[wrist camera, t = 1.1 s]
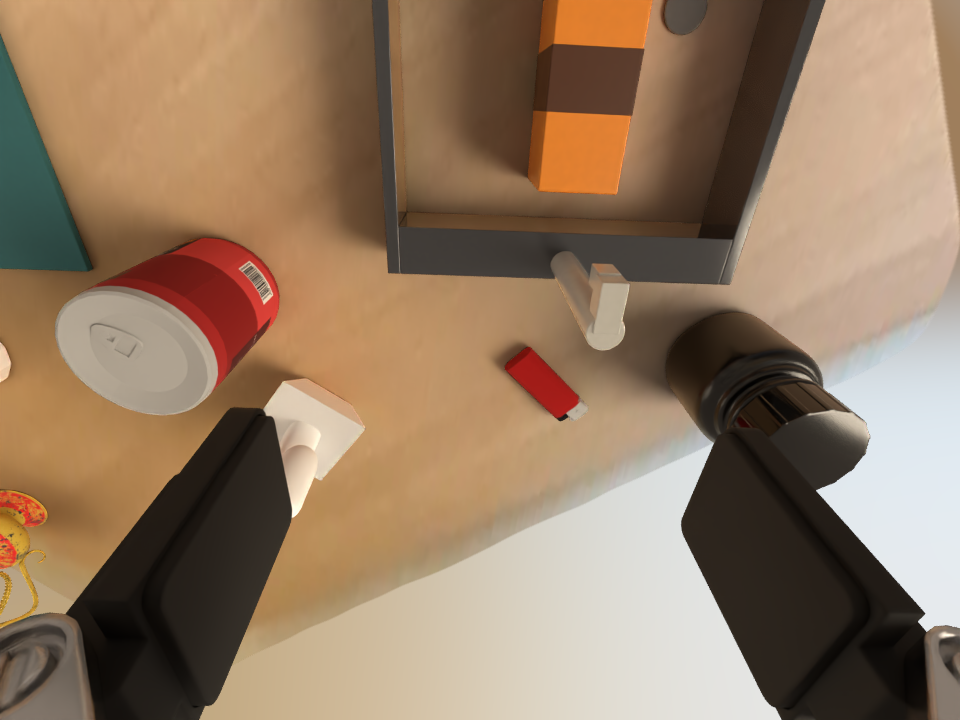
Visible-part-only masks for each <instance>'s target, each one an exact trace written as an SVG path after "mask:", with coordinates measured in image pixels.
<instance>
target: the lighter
mask: <svg viewBox="0 0 960 720" xmlns="http://www.w3.org/2000/svg"><path fill="white" fill-rule="evenodd" d="M505 370H506V371H507V372H508V373H509V374H510V375H511V376H512V377H513V378H514V379H515V380H516V381H518V382H519V383H520V384H521V385H522V386H523V387H524V388H525V389H526V390H527V391H528V392H529V393H530V394H531V395H532V396H533V397H534V398H535V399H536V400H537V401H538V402H539V403H541V404H542V405H543V406H544V407H545V408H546V409H547V410H548V411H549V412H550V413H551V414H552V415H553V416H554V417H555V418H557V419H558V420H559V421H563V420H565V419H566V418H568V416H569V419H570V420H571V421H576V420H577V419H579V418H580V417H582V416H583V415H584V414H585V413H586V412H587V411H588V405H587V404H586V403H585V402H584V401H583V400H582V399H581V398H580V397H579V396H578V395H577V394H576V393H575V392H574V391H573V390H572V389H571V388H570V387H569V386H568V385H567V384H566V383H565V382H564V381H563V380H562V379H561V378H560V377H559V376H558V375H557V374H556V373H555V372H554V371H553V370H552V369H551V368H550V367H549V366H548V365H547V364H546V363H545V362H544V361H543V360H542V359H541V358H540V357H539V356H538V355H537V354H536V353H535V352H534V351H533V350H532V348H531V347H527V348H525V349H524V350H523V351H521V352H520V353H519V354H518V355H516V356H515V357H514V358H512V359H511V360H510V361H509V362H508V363H507V364H506V366H505Z"/></svg>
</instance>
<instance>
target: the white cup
mask: <svg viewBox="0 0 960 720" xmlns="http://www.w3.org/2000/svg"><path fill="white" fill-rule="evenodd" d="M10 367H11V361H10V358H9V356H8V353H7V351H6V348H5V347H4V346H3V344H2V343H1V342H0V382H1V381H3V380H4V379H6V378H7V377H8V376H9V371H10Z"/></svg>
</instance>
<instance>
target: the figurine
mask: <svg viewBox="0 0 960 720" xmlns="http://www.w3.org/2000/svg"><path fill="white" fill-rule="evenodd" d="M263 410H264V411H265V413H266V416H272V417H273V418H274V421H275V425H276V430H277V435H278V440H279V445H280V450H281V455H282V460H283V465H284V470H285V475H286V480H287V485H288V490H289V495H290V500H291V505H292V518H293V517H294V516H296V515H297V514H298V512H299V511H300V509H301V507H302V505H303V502H304V500H305V497H306V495H307V493H308V490H309V488H310V486H311V483H312V481H313V478H314V477H315V478H317V479H319V480H320V481H321V480H322V479H323V478H324V477H325V475H326V474H327V473H328V472H329V471H330V470H331V468H332V467H333V466H334V465H335V464H336V463H337V461H338V460H339V459H340V458H341V457H342V456H343V455H344V453H345V452H346V451H347V450H348V449H349V448H350V446H351V445H352V444H353V443H354V442H355V441H356V439H357V438H358V437H359V436H360V435H361V434H362V432H363V431H364V430H365V429H366V428H365V426H364V424H363V423H362V421H361V420H360V418H359V416H358V415H357V413H356V411H355V410H354V408H353V407H352V405H351V404H350V403H348V402H346V401H345V400H343V399H341V398H339V397H338V396H336V395H334V394H333V393H331V392H329V391H327V390H326V389H324V388H322V387H321V386H319V385H317V384H315V383H314V382H312V381H310V380H309V379H307V378H305V379H296V380H288V381H283V382H282V384H281V385H280V386H279V388H278V389H277V391H276V392H275V393H274V395H273V396H272V398H271V399H270V401H269V402H268V403H267V405H266V406H265V408H264V409H263Z"/></svg>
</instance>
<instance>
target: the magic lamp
mask: <svg viewBox="0 0 960 720" xmlns="http://www.w3.org/2000/svg"><path fill="white" fill-rule="evenodd" d="M47 517H48V514H47V511H46V509H45V507H44V506H43V505H42V504H41V503H40V502H38V501H37V500H36V499H34V498H33V497H31V496H29V495H26V494H24V493H21V492H17V491H12V490H1V491H0V569H4V568H8V567H11V566H14V565H15V564H17V563H19V567H20V569H21V572H22V574H23V576H24V578H25V580H26V582H27V584H28V586H29V588H30V590H31V593H32V596H33V601H34V604H33V607H32V609H31V610H30V611H29V612H27V613H26V614H24V615H22V616H20V617H18V618H15V619H13V620H10V621H6V622H4V623H0V627H2V626H6V625H8V624H10V623H13V622H16V621H18V620H21V619H24V618H26V617H28V616H29V615H31V614H32V613H33V612H34V611H35V609H36V608H37V605H38V595H37V593H36V590H35V587H34V585H33V583H32V581H31V578H30V576H29V574H28V572H27V570H26V567H25V565H24V560H25V558H26V556H27V555H29V554H30V553H33V552H40V553H42V554H43V555H44V558H43V560H44V559H45V558H46V555H45V553H44V552H43V551H41V550H32V551H30V552H28V550H29V548H30V538H29V535H28V533H27V531H26V529H25V528H24V527H23V526H27V527H33V526H38V525H41V524H43V523H44V522H45V521H46V520H47ZM27 552H28V553H27ZM43 560H41V561H40V562H42V561H43ZM40 562H38V563H40ZM4 575H5V576H4ZM0 576H1V577H3V578H5V579H4V580H6V581H5V582H7V583H5V584H6V585H7V586H8V587H7V586H5V587H6V588H7V589H5V591H6V592H5V593H4V596H3V597H2V599H3V600H1V604H0V606H1V607H0V608H2V609H0V615H1V613H2V612H3V609H4V608H5V605H6V603H7V600H8V599H9V595H10V592H11V587H12V586H11V584H12V583H11V579H10V577H9V575H6V573H3V572H2V571H1V572H0ZM9 584H10V585H9ZM9 587H10V588H9ZM8 591H9V592H8ZM6 595H8V596H6ZM4 597H5V598H4ZM5 599H6V600H5ZM4 603H5V604H4Z"/></svg>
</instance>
